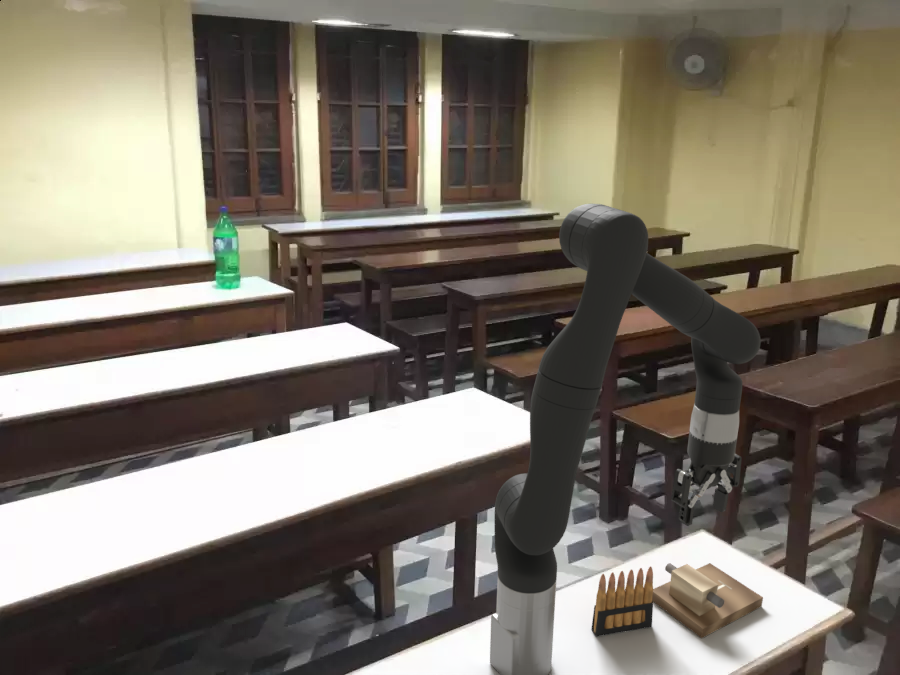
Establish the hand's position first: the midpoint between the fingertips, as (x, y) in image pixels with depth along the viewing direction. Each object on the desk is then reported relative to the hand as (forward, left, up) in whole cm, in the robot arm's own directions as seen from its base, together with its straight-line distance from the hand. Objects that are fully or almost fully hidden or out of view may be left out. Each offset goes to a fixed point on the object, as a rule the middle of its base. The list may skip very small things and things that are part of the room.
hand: (702, 516), depth 127 cm
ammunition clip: (-14, +3, -20) cm, 24 cm away
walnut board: (+4, 0, -20) cm, 20 cm away
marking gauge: (0, 0, -18) cm, 18 cm away
